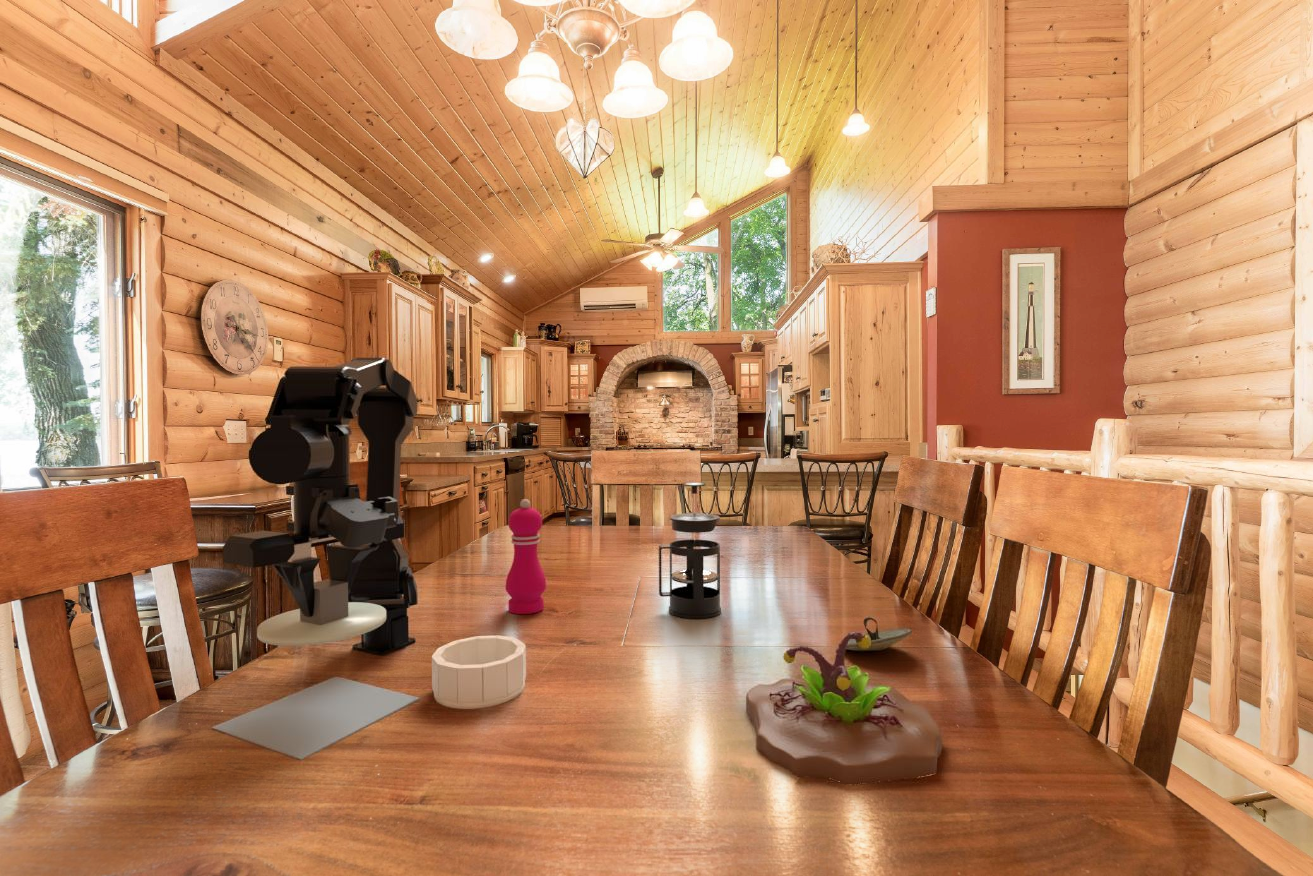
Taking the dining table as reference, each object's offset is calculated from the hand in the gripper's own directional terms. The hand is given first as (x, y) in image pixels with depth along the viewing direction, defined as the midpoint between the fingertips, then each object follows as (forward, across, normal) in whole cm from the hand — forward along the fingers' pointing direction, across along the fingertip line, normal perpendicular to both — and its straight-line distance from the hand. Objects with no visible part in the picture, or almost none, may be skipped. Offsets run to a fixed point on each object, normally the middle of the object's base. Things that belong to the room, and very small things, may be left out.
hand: (324, 611), depth 71 cm
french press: (+12, +54, -23) cm, 60 cm away
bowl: (+12, +13, -12) cm, 21 cm away
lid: (+12, +47, -55) cm, 73 cm away
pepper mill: (+12, +43, +4) cm, 45 cm away
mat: (+12, 0, 0) cm, 12 cm away
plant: (+12, +21, -54) cm, 60 cm away
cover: (+2, 0, 0) cm, 2 cm away
